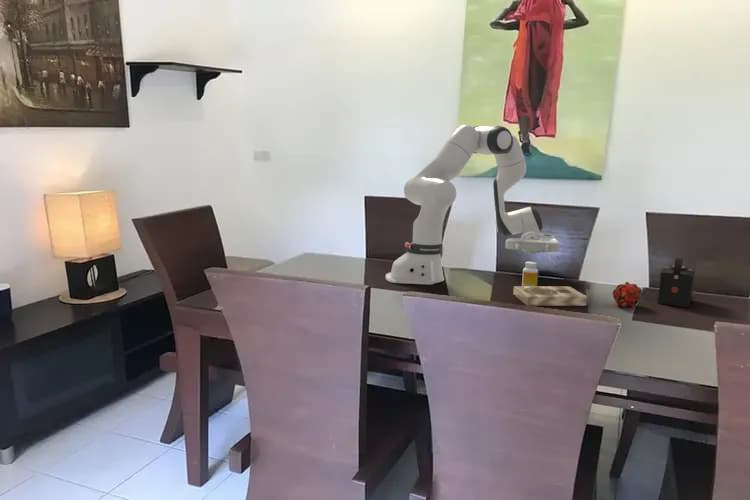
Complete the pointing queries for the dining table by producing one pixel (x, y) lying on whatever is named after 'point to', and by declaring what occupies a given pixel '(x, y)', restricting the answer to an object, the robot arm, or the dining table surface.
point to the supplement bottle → (530, 274)
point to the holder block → (550, 295)
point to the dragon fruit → (627, 295)
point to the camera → (676, 285)
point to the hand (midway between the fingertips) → (531, 248)
